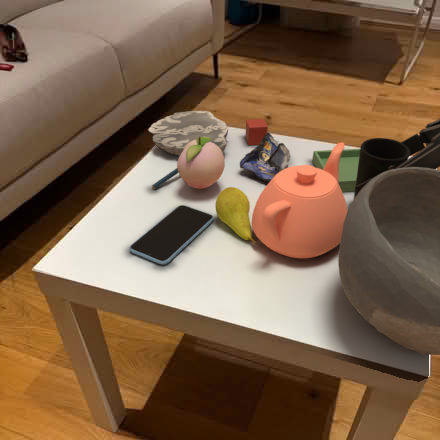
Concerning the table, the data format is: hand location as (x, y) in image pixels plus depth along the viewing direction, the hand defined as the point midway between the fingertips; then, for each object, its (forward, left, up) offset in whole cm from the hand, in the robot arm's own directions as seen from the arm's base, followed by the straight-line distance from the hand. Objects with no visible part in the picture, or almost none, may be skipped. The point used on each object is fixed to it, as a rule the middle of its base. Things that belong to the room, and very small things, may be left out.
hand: (373, 175), depth 78 cm
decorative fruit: (+28, -11, -7) cm, 31 cm away
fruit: (+25, -3, -3) cm, 25 cm away
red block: (+14, -29, -7) cm, 33 cm away
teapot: (+13, +6, -7) cm, 16 cm away
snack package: (+14, -16, -7) cm, 22 cm away
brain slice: (+29, -29, -7) cm, 42 cm away
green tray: (-2, -13, -7) cm, 15 cm away
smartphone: (+34, +3, -7) cm, 35 cm away
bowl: (+4, +24, -6) cm, 25 cm away
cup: (-1, 0, -7) cm, 7 cm away
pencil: (+37, -11, -7) cm, 40 cm away
